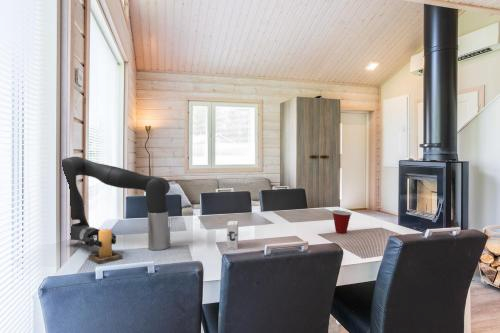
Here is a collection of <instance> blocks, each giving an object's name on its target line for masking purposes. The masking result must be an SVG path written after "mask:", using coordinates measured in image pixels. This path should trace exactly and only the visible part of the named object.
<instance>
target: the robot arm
mask: <svg viewBox="0 0 500 333" xmlns="http://www.w3.org/2000/svg"><path fill="white" fill-rule="evenodd" d="M61 160H62V167H63V171H64V174H65V176H66V179H67V182H68V184H69V189H70V206H71V218H72V220H71V221H76V220H79V222H76V223H72V226H71V233H70V235H71V239H70V240H71V241H81V246H84V247H90V248H92V247H98V248H99V247H102V242H101V241H99V231H100V229H98V228H96V227H92V226H90V225H89V223H88V219H87V217H86V214H85V205H84V199H83V197H82V195H81V192H80V191H79V188H78V186H77V176H86V177H91V178H94V179H96V180H97V181H100V182H101V183H103V184H104V185H108V186H111V187H114V188H120V189H128V190H132V189H133V190H141V191H144V192H145V204H146V208H147V233H148V234H147V236H148V238H147V242H148V244H147V245H148V250H150V251H161V250H167V249H168V248H170V247H171V227H170V226H169V206H168V204H167V195H168V193H170V192H169V191H170V189H171V185H170V182H169V181H168V180H167V179H166V178H163V177H158V176H151V175H145V174H142V173H138V172H135V171H132V170H129V169H125V168H122V167H118V166H114V165H109V164H104V163H99V162H94V161H91V160H89V159H86V158H83V157H81V156H70V157H65V158H63V159H61ZM111 233H112V245H116V243H117V235H116V234H115V233H113V232H111Z"/></svg>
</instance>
